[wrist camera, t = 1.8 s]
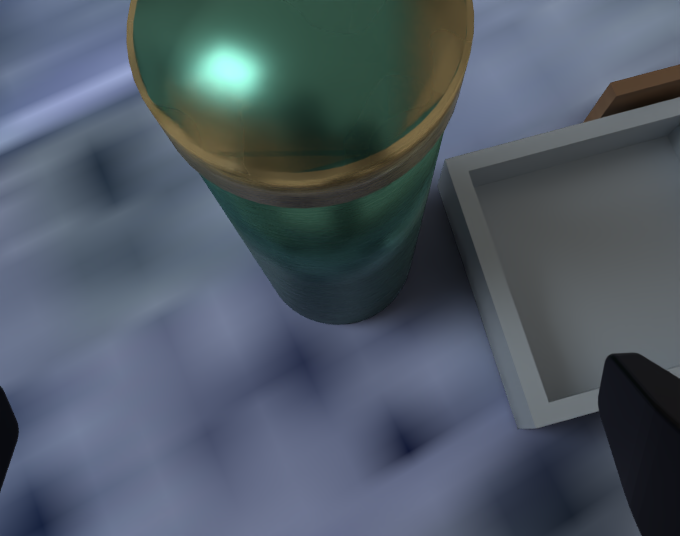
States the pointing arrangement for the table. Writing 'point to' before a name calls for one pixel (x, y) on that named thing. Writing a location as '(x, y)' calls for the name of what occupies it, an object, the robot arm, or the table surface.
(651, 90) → the walnut stand
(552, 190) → the tray
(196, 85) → the tea tin
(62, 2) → the table surface
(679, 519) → the robot arm
